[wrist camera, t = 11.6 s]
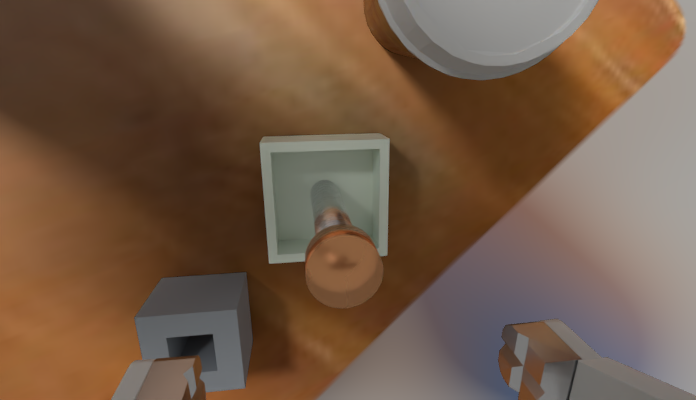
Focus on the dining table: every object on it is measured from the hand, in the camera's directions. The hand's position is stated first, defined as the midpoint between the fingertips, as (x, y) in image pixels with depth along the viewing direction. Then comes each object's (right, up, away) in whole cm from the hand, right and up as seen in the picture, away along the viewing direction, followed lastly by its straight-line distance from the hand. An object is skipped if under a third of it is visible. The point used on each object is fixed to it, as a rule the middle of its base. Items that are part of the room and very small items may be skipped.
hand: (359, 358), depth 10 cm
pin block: (-11, -4, +19) cm, 22 cm away
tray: (-2, +5, +17) cm, 18 cm away
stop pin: (-2, +5, +17) cm, 18 cm away
